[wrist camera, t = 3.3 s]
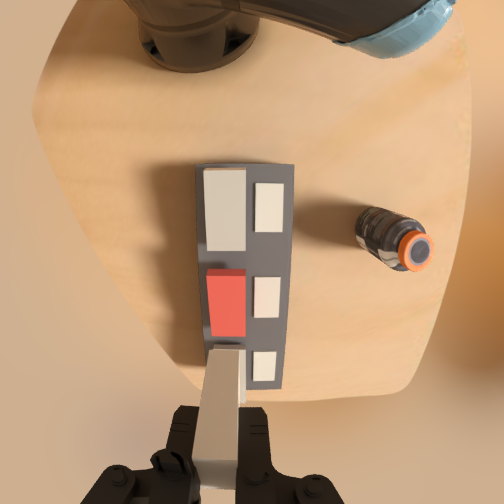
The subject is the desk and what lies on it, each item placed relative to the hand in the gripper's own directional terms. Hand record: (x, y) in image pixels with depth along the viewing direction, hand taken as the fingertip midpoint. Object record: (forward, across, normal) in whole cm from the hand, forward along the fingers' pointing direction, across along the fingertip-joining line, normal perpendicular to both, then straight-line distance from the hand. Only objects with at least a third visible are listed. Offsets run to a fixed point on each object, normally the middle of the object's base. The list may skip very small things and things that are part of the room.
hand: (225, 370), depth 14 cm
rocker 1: (+15, -1, +6) cm, 17 cm away
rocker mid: (+15, -1, -4) cm, 16 cm away
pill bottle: (+23, +18, +3) cm, 29 cm away
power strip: (+22, +1, -4) cm, 23 cm away
